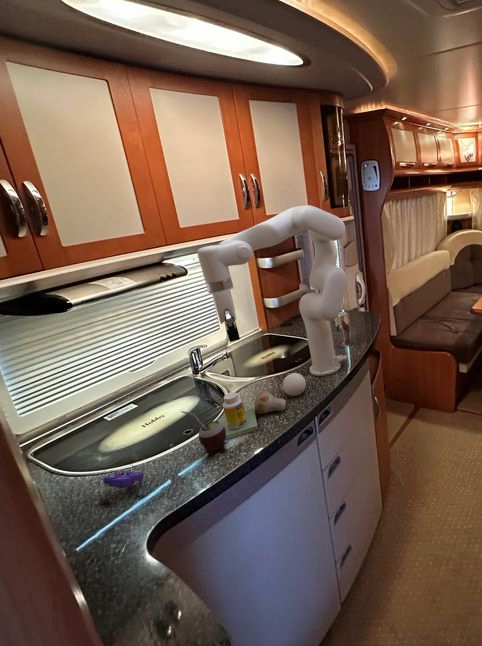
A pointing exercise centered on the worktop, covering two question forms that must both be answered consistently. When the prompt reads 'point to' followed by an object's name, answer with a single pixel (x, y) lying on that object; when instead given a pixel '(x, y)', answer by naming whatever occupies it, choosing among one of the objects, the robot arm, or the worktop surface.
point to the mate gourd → (211, 435)
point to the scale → (248, 427)
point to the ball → (294, 384)
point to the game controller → (122, 479)
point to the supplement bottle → (234, 411)
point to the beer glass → (342, 329)
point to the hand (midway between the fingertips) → (233, 336)
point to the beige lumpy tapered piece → (268, 403)
